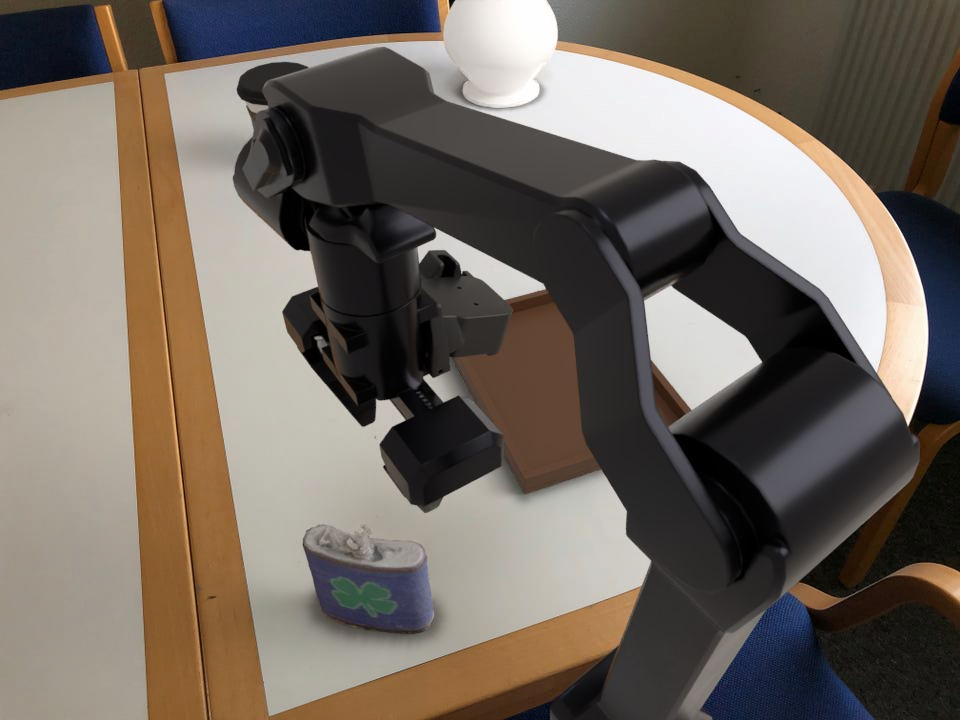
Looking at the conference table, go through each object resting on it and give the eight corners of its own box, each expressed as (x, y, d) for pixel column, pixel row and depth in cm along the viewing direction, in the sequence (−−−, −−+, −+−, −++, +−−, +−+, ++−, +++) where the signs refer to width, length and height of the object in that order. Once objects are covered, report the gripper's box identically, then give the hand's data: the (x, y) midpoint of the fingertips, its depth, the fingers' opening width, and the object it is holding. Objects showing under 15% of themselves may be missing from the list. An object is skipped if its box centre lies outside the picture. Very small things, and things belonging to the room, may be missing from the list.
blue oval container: (438, 607, 62) (427, 527, 55) (428, 642, 60) (416, 563, 52) (326, 586, 63) (302, 505, 56) (313, 619, 61) (285, 540, 54)
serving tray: (697, 437, 74) (701, 422, 72) (524, 494, 70) (524, 479, 68) (584, 293, 90) (586, 278, 89) (438, 332, 86) (437, 317, 84)
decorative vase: (557, 115, 123) (564, -62, 106) (442, 116, 124) (431, -60, 107) (554, 68, 136) (560, -96, 119) (450, 69, 137) (441, -94, 120)
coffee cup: (337, 139, 119) (324, 60, 111) (319, 177, 111) (304, 94, 103) (266, 137, 120) (249, 59, 112) (244, 174, 112) (223, 93, 104)
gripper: (587, 320, 42) (572, 501, 52) (414, 173, 53) (430, 346, 64) (401, 406, 38) (425, 584, 48) (258, 226, 49) (303, 402, 60)
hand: (397, 463), depth 55 cm, fingers open, 9 cm apart
